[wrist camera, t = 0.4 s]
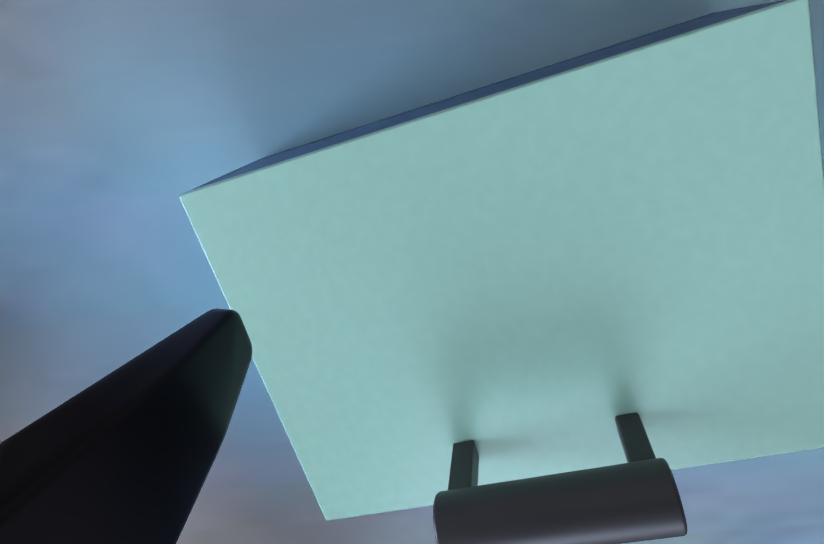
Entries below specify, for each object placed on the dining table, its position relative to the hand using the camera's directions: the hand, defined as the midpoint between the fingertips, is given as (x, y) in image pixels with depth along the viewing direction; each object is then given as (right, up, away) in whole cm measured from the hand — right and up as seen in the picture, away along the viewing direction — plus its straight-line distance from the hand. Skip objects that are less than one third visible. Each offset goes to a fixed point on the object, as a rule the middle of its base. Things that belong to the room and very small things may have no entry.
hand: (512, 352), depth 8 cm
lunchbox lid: (+1, 0, +8) cm, 9 cm away
